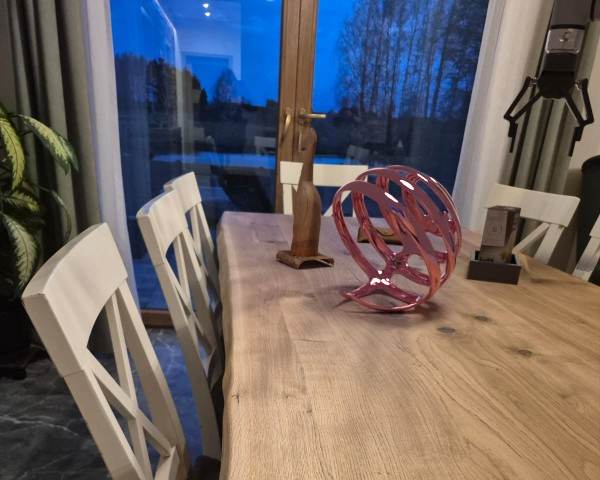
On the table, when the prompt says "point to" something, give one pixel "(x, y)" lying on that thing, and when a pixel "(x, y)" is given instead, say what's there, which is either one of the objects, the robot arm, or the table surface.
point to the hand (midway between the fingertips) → (539, 154)
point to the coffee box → (499, 234)
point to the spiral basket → (400, 234)
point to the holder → (494, 269)
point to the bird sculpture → (306, 213)
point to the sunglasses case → (384, 233)
